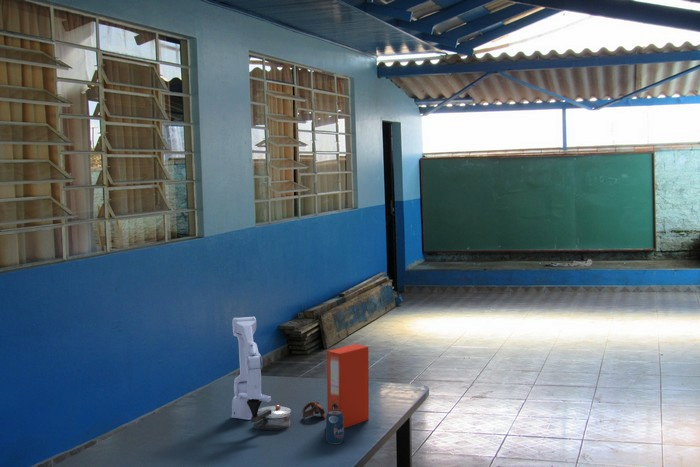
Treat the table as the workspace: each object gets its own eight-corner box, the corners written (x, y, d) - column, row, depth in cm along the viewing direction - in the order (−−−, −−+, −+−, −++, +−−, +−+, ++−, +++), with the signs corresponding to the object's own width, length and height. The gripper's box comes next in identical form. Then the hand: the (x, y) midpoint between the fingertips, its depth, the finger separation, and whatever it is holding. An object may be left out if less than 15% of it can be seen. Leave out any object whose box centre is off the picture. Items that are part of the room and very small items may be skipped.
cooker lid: (268, 406, 364) (268, 401, 364) (297, 410, 357) (297, 405, 357) (238, 421, 344) (238, 415, 344) (268, 425, 337) (268, 419, 337)
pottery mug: (326, 422, 359) (317, 407, 357) (307, 431, 361) (298, 416, 359) (329, 407, 370) (319, 393, 368) (310, 416, 372) (301, 401, 370)
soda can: (337, 445, 328) (337, 415, 327) (323, 442, 332) (322, 413, 331) (347, 440, 334) (346, 411, 333) (332, 437, 338) (332, 408, 337)
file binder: (369, 419, 360) (368, 346, 357) (341, 429, 348) (340, 353, 345) (355, 416, 366) (354, 343, 363) (327, 425, 353) (326, 350, 350)
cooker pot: (271, 416, 366) (270, 405, 366) (299, 420, 361) (299, 409, 360) (241, 433, 344) (241, 421, 344) (271, 437, 338) (270, 425, 338)
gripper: (233, 385, 343) (234, 417, 344) (264, 388, 337) (265, 421, 338) (242, 381, 350) (243, 413, 351) (273, 384, 344) (273, 416, 345)
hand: (254, 417), depth 345 cm, fingers closed
